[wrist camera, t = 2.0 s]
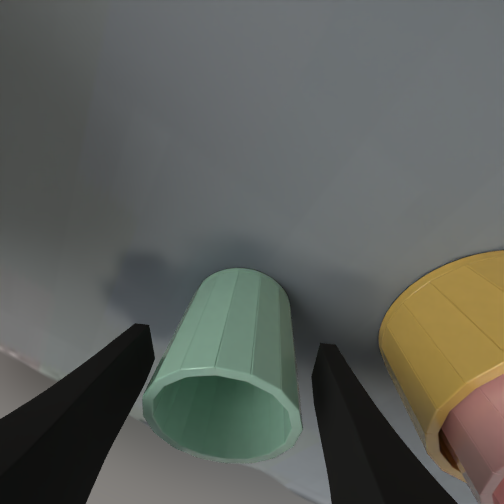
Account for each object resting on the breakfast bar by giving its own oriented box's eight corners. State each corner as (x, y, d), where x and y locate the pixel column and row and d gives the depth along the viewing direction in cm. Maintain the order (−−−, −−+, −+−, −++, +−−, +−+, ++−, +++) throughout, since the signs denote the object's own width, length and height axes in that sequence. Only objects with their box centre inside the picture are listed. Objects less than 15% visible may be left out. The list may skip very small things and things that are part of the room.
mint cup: (311, 301, 12) (337, 419, 7) (255, 357, 14) (244, 478, 9) (224, 248, 11) (184, 340, 6) (178, 316, 13) (120, 425, 8)
